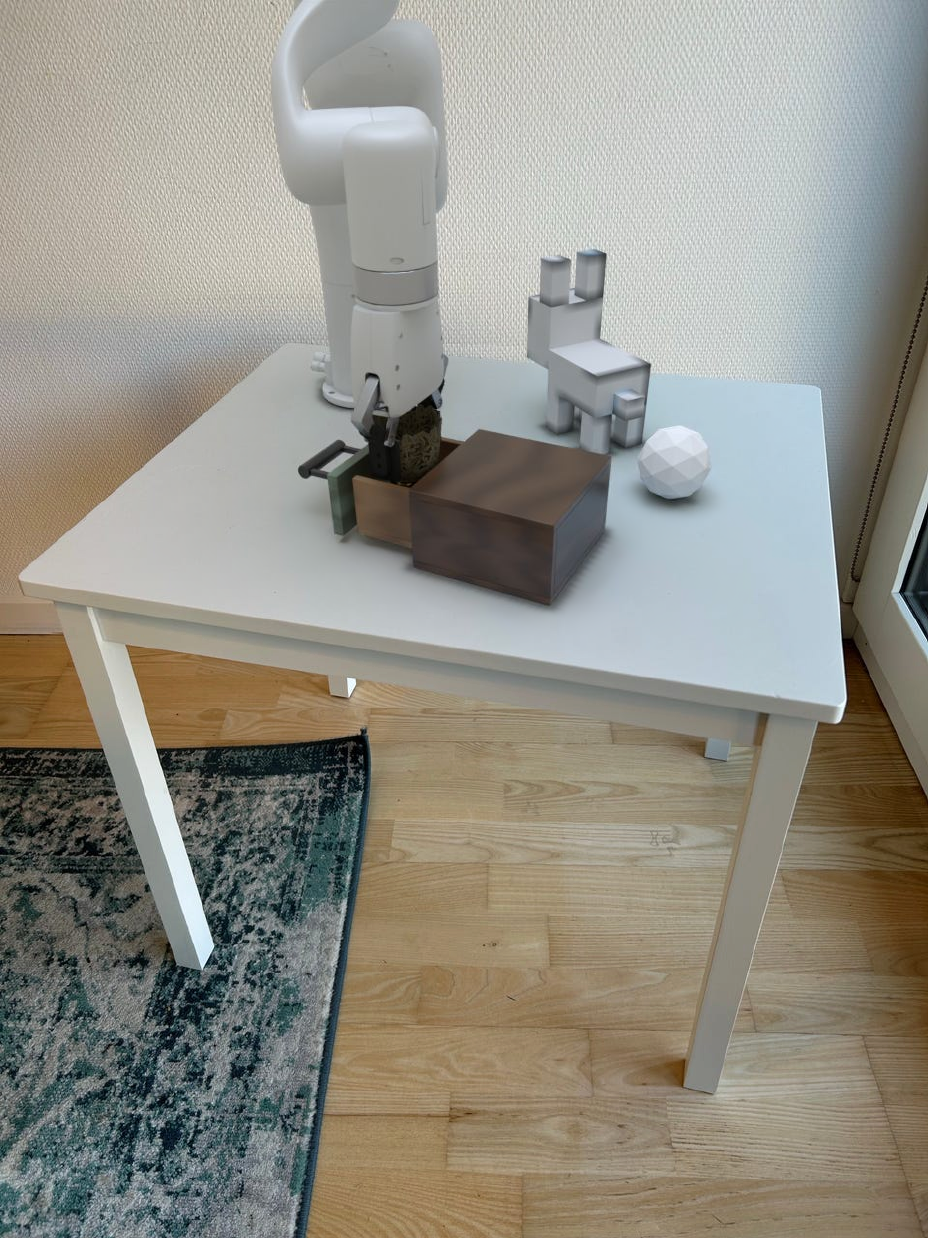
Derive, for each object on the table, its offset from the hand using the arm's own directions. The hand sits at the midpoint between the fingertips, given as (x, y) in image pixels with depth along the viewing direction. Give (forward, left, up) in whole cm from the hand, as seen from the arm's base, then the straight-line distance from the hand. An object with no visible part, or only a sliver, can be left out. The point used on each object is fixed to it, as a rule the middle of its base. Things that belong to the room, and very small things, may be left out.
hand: (407, 459), depth 87 cm
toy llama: (+9, +29, -7) cm, 31 cm away
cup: (0, 0, -4) cm, 4 cm away
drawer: (-1, 0, -6) cm, 6 cm away
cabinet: (+12, 0, -7) cm, 14 cm away
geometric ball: (+23, +18, -7) cm, 30 cm away
